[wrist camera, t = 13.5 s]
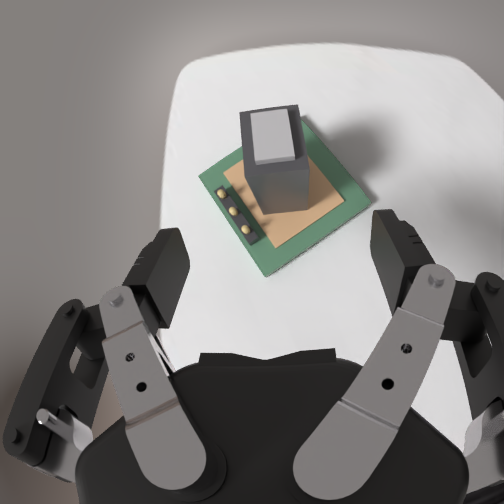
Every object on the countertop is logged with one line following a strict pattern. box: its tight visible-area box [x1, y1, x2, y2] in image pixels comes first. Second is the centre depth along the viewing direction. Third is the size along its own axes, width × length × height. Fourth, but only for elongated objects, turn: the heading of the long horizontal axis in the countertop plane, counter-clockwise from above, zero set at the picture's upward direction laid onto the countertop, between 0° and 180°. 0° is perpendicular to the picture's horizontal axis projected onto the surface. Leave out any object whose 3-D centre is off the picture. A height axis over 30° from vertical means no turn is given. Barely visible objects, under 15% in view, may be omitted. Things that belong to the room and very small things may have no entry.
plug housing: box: [240, 105, 310, 215], centre depth 22 cm, size 4×5×10 cm
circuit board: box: [198, 120, 371, 277], centre depth 26 cm, size 12×12×3 cm
